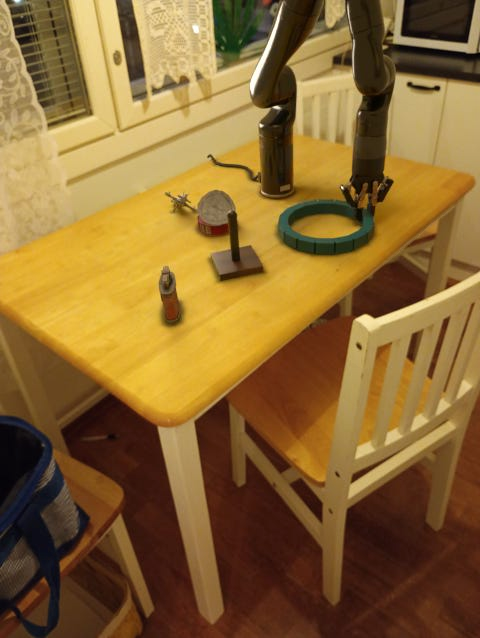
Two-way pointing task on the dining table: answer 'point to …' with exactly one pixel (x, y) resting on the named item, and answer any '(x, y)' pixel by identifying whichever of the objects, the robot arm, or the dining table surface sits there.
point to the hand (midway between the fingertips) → (363, 219)
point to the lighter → (169, 296)
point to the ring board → (238, 266)
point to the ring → (324, 244)
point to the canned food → (214, 213)
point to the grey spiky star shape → (180, 201)
